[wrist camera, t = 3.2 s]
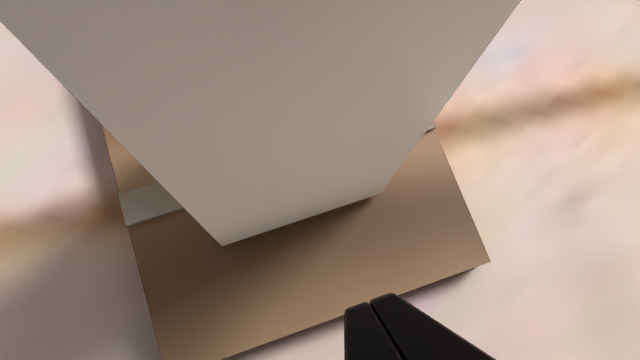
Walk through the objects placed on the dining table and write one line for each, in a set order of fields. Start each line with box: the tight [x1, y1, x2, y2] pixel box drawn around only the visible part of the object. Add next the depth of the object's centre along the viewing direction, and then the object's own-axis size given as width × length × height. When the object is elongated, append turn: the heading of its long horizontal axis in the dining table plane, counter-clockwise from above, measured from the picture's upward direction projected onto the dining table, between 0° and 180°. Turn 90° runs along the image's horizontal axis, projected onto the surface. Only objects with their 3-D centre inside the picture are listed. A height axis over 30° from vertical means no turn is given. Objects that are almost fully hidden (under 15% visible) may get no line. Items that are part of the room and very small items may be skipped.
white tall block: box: [0, 0, 521, 246], centre depth 10 cm, size 4×5×12 cm
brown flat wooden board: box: [102, 121, 491, 360], centre depth 17 cm, size 17×10×1 cm, turn 19°
